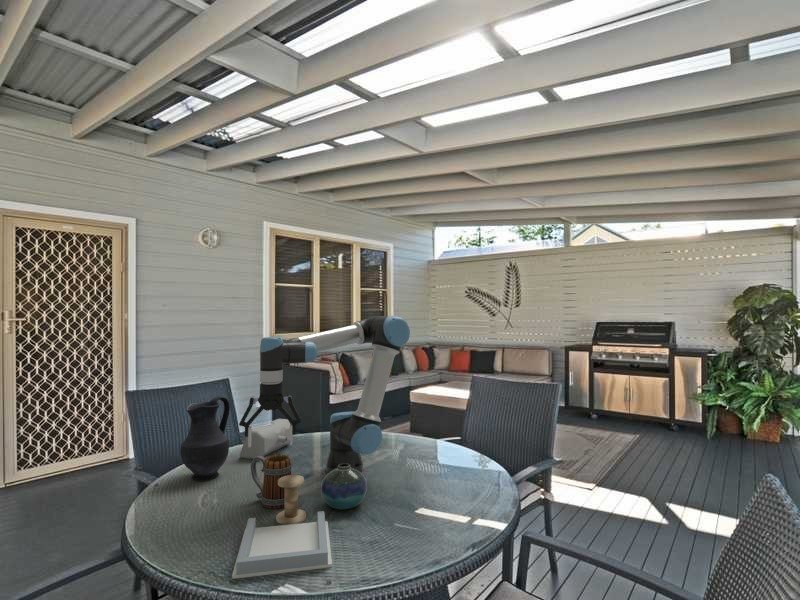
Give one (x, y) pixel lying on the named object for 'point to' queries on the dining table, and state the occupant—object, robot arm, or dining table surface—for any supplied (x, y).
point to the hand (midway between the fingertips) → (270, 445)
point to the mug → (271, 480)
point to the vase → (343, 487)
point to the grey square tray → (283, 548)
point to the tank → (267, 439)
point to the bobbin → (291, 500)
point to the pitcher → (206, 440)
